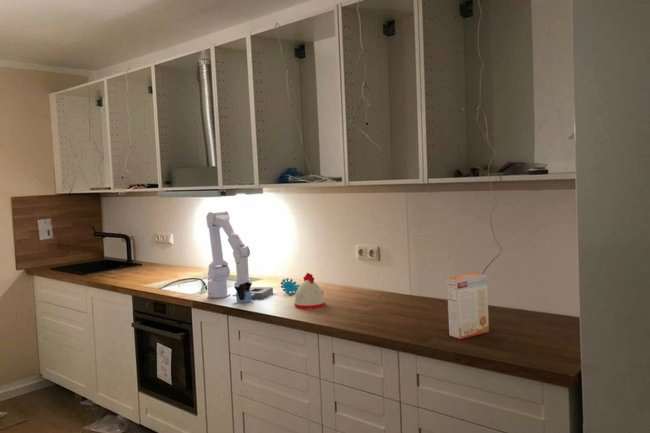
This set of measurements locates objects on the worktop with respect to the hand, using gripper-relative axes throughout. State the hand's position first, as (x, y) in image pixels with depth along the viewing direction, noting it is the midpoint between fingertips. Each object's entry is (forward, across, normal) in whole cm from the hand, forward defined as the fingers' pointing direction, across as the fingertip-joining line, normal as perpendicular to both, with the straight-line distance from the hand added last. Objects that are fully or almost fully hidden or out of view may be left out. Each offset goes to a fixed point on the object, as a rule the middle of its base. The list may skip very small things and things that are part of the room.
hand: (243, 298), depth 252 cm
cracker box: (+2, -40, -106) cm, 113 cm away
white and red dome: (+2, -4, -35) cm, 35 cm away
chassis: (+1, +13, -1) cm, 13 cm away
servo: (+1, 0, 0) cm, 1 cm away
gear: (+2, +20, -17) cm, 26 cm away
